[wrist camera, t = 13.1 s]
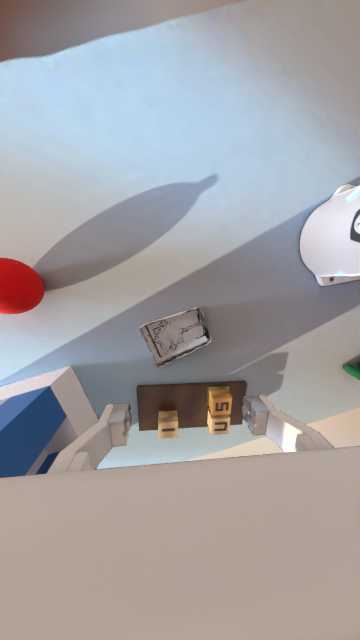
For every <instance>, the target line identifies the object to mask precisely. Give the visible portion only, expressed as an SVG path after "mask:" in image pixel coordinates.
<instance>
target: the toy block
mask: <svg viewBox="0 0 360 640" xmlns="http://www.w3.org/2000/svg"><path fill="white" fill-rule="evenodd" d="M98 422H99V420H98V418H97V416H96V414H95V412H94V410H93V408H92V406H91V404H90V402H89V400H88V398H87V396H86V394H85V392H84V390H83V388H82V386H81V384H80V382H79V380H78V378H77V376H76V374H75V372H74V370H73V368H72V366H68V367H65V368H61V369H58V370H54V371H51V372H48V373H44V374H41V375H38V376H34V377H31V378H28V379H24V380H21V381H18V382H14V383H11V384H7V385H4V386H1V387H0V478H6V477H17V476H28V475H39V474H46V473H47V472H48V470H49V469H50V467H51V465H52V464H53V462H54V460H55V459H56V457H57V456H58V454H59V453H60V452H61V451H62V450H63V449H65V448H66V447H67V446H68V445H70V444H71V443H72V442H73V441H75V440H76V439H77V438H78V437H80V436H81V435H82V434H83V433H85V432H86V431H87V430H88V429H90V428H91V427H92V426H93V425H95V424H98ZM97 467H98V466H97ZM97 467H96V468H95V469H94V470H96V469H97Z"/></svg>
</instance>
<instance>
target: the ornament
mask: <svg viewBox="0 0 360 640" xmlns="http://www.w3.org/2000/svg"><path fill="white" fill-rule="evenodd" d="M43 295H44V284H43V281H42V279H41V278H40V276H39V275H38V274H37V273H36V272H35V271H34V270H33V269H32V268H31V267H29V266H27V265H25V264H23V263H22V262H19V261H16V260H13V259H8V258H0V313H2V314H18V313H23V312H26V311H29V310H31V309H33V308H34V307H35V306H37V305H38V304H39V303H40V301H41V300H42V298H43Z"/></svg>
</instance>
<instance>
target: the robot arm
mask: <svg viewBox="0 0 360 640" xmlns="http://www.w3.org/2000/svg"><path fill="white" fill-rule="evenodd" d="M300 253H301V257H302V260H303V262H304V264H305V265H306V266H307V268H308V269H309V270H311V271H312V272H313V273H314V275H315V277H316V279H317V282H318V284H319V285H320V286H328V285H333V284H338V283H343V282H348V281H353V280H358V279H360V185H359V186H357V187H356V186H353V185H350V184H346V185H343V186H341V187H339V188H338V189H337V190H336V191H335V193H334V194H333V195H332V197H331V198H330V199H329V200H328V201H327V202H325V203H324V204H322V205H321V206H319V207H318V208H317V209H316V210H315V211H314V212H313V213H312V214H311V215H310V217H309V218H308V219H307V221H306V223H305V225H304V227H303V230H302V233H301V238H300ZM243 403H244V405H243V406H242V415H243V418H244V420H245V421H246V422H247V423H249V424H248V427H249V429H250V431H251V432H252V434H253V435H266V436H267V437H268V438H269V439H271V440H272V441H273V442H274V443H275V444H276V445H278V446H279V447H280V448H281V449H283V450H284V451H285V453H274V454H263V455H253V456H241V457H229V458H219V459H207V460H196V461H185V462H174V463H163V464H151V465H140V466H129V467H118V468H107V469H96V470H94V469H95V468H96V467H97V466H98V464H99V463H100V462H101V461H102V460H103V458H104V457H105V456H106V455H107V453H108V452H109V451H110V450H111V449H112V447H116V446H125V445H126V443H127V439H128V431H129V430H130V427H131V413H130V409H131V407H130V404H129V403H128V404H108V405H107V406H106V407H105V409H104V411H103V414H102V416H101V418H100V420H99V422H98V424H95V425H93V426H92V427H91V428H90V429H88V430H87V431H86V432H85V433H83V434H82V435H81V436H80V437H78V438H77V439H76V440H75V441H73V442H72V443H71V444H70V445H68V446H67V447H66V448H65V449H63V450H62V451H61V452H60V453H59V454H58V456H57V457H56V459H55V460H54V462H53V464H52V465H51V467H50V469H49V470H48V472H47V473H46V474H39V475H28V476H17V477H6V478H0V640H360V446H353V447H341V448H335V447H333V446H332V444H331V443H330V442H328V440H327V439H326V438H324V436H323V435H322V434H321V433H320V432H318V431H316V430H314V429H313V428H311V427H309V426H307V425H305V424H303V423H301V422H300V421H298V420H296V419H294V418H292V417H290V416H288V415H287V414H285V413H283V412H281V411H278V410H277V409H276V408H275V407H274V406H273V404H272V403H271V402H270V401H269V400H268V399H267V397H266V396H265V395H257V396H245V397H243Z"/></svg>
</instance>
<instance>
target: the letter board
mask: <svg viewBox="0 0 360 640" xmlns="http://www.w3.org/2000/svg"><path fill="white" fill-rule="evenodd" d="M246 387H247V383H246V381H234V382H209V383H185V384H161V385H138V386H137V397H138V415H139V431H145V430H158V434H159V438H170V437H178V428H191V427H207V426H208V428H209V431H210V434H211V435H214V434H229V427H230V425H238V424H242V420H243V415H242V406H243V405H244V403H243V397H245V396H246ZM209 389H228V391H229V393H230V395H231V396H232V405H231V414H226V415H211V412H210V409H209V406H208V400H209Z"/></svg>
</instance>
